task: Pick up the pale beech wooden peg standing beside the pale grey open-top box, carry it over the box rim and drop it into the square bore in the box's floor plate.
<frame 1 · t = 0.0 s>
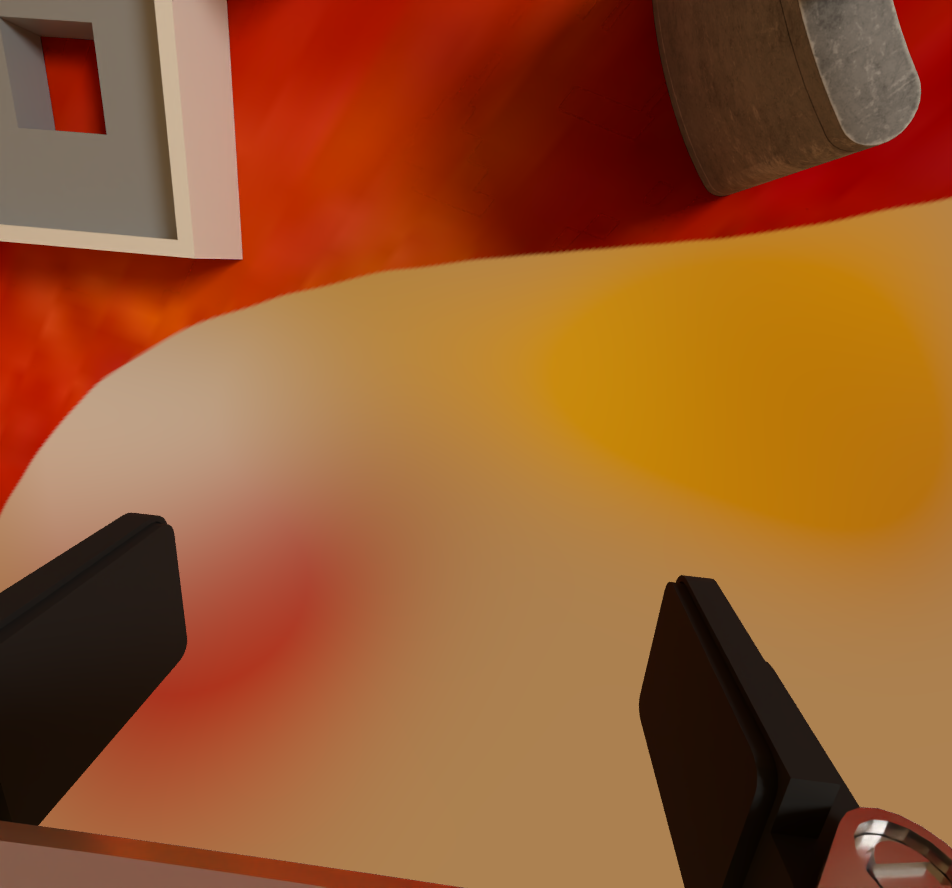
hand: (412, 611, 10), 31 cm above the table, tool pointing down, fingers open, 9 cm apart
open top box: (90, 91, 36), on the table
flask: (693, 82, 33), on the table
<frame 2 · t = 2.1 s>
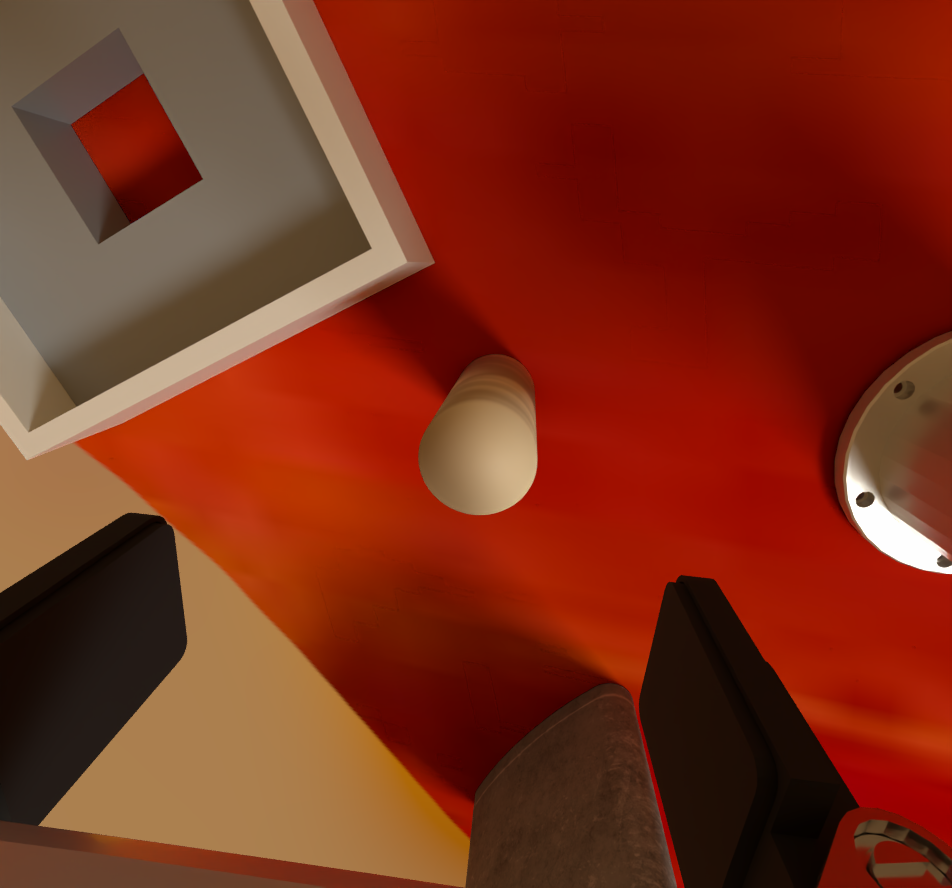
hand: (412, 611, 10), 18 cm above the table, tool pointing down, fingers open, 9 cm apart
open top box: (155, 156, 25), on the table
flask: (544, 746, 35), on the table
peg: (495, 392, 27), on the table
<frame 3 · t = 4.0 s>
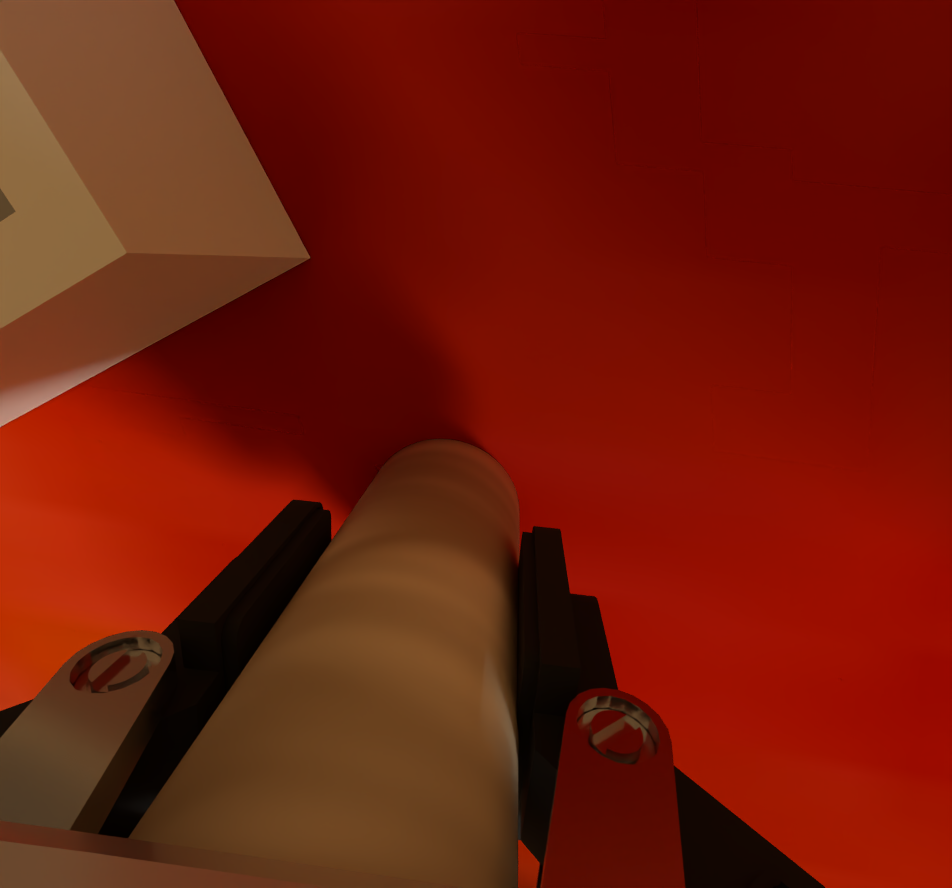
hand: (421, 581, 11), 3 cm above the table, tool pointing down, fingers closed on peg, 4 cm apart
peg: (444, 510, 14), on the table, touching gripper
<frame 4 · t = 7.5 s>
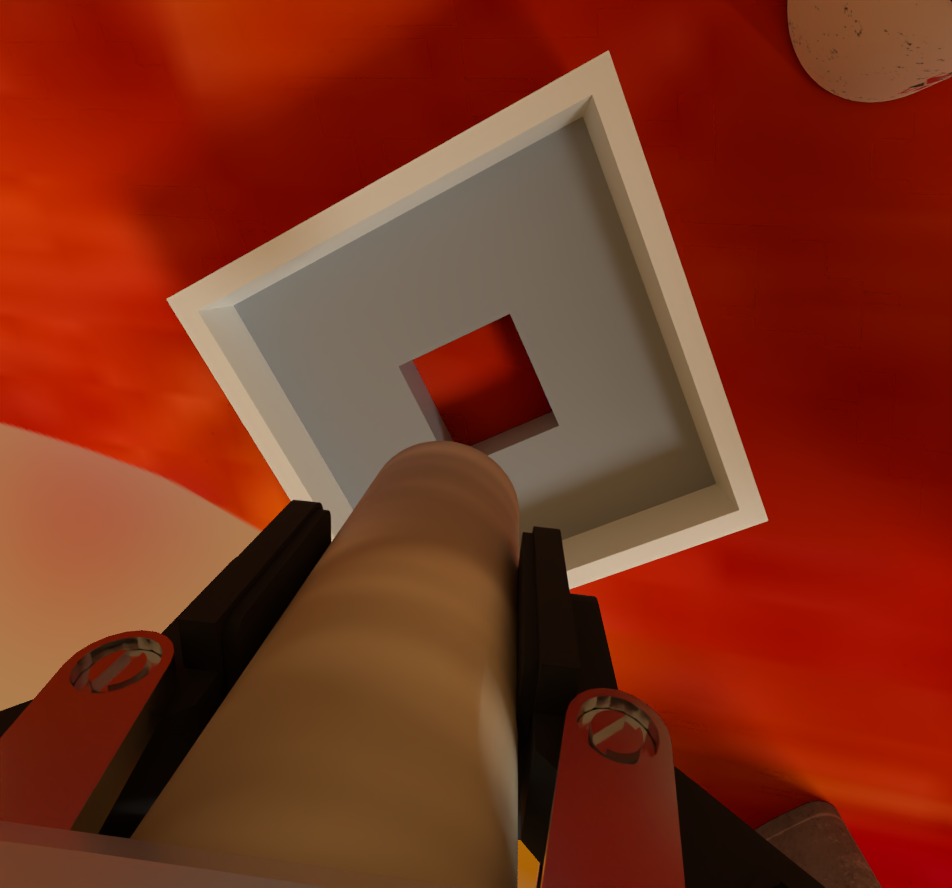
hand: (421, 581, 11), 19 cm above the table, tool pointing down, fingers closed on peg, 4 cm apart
open top box: (483, 383, 29), on the table
flask: (748, 850, 39), on the table
peg: (443, 512, 14), point 16 cm above the table, touching gripper
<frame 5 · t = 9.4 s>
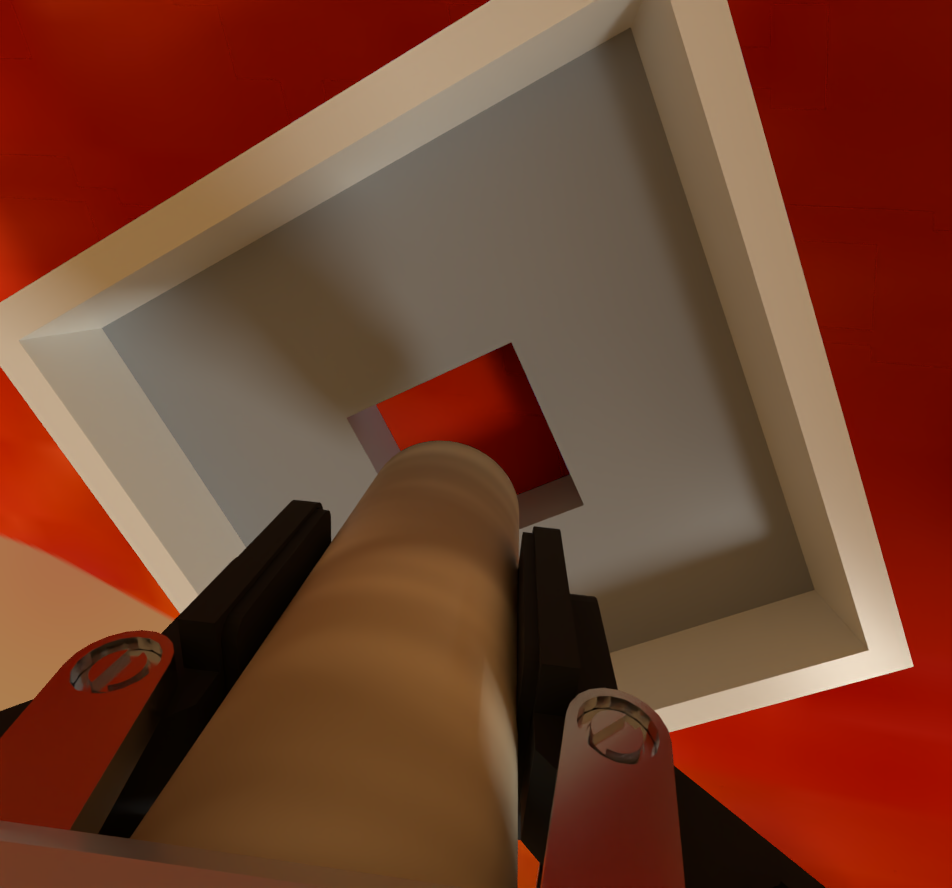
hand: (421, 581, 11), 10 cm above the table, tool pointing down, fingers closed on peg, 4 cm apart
open top box: (474, 434, 20), on the table
peg: (443, 512, 14), point 7 cm above the table, touching gripper
when the fingers open (5 cm above the table, at t = 11.1 s): peg drops 1 cm, resting in open top box.
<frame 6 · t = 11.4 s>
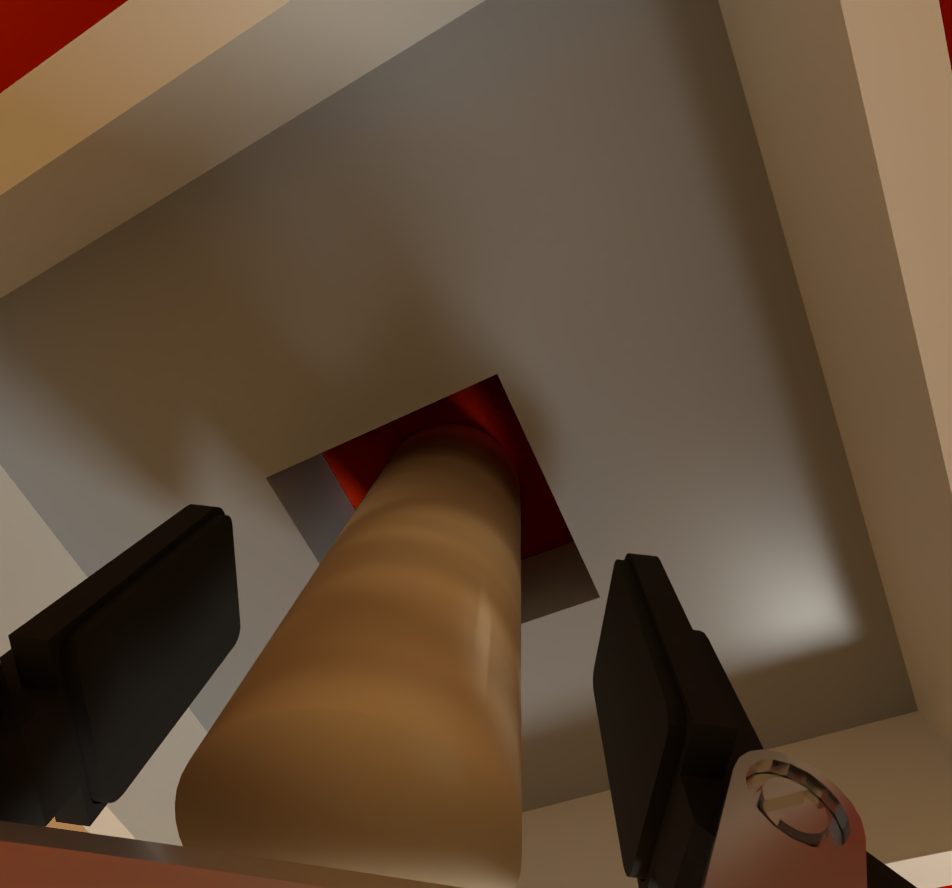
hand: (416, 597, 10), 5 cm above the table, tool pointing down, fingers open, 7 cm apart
open top box: (450, 487, 15), on the table
peg: (452, 489, 15), resting in open top box
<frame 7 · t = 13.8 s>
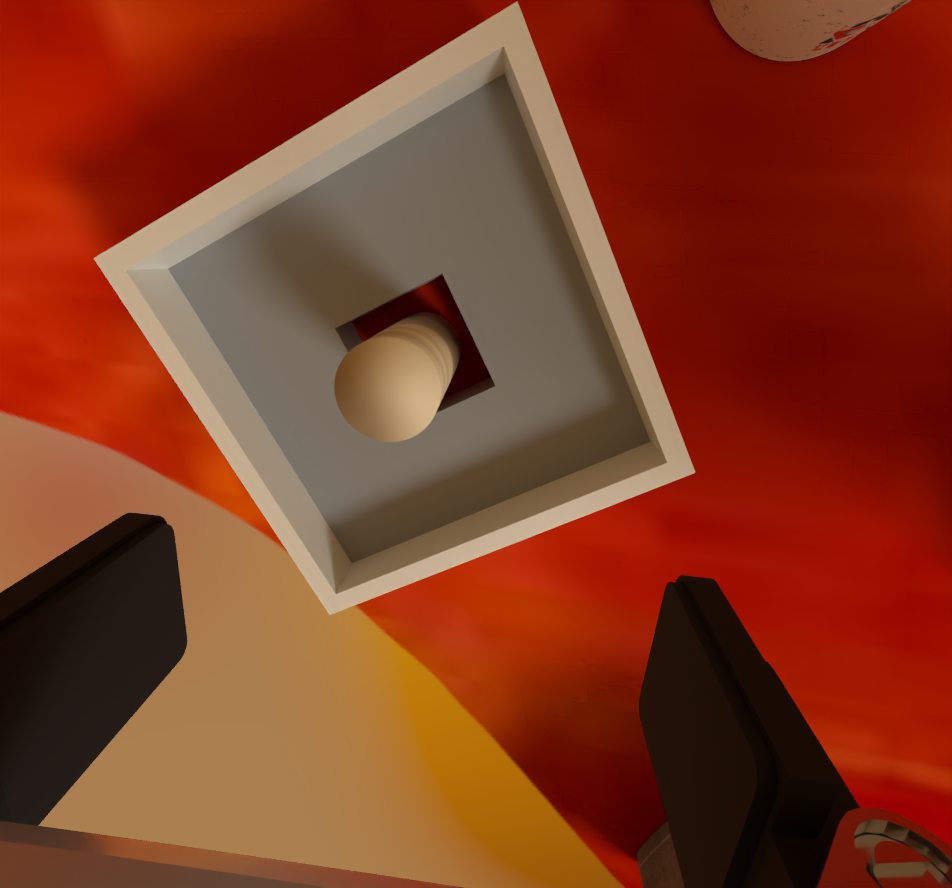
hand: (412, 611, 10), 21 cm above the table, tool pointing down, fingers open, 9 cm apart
open top box: (425, 348, 29), on the table
flask: (703, 811, 40), on the table
peg: (425, 348, 29), resting in open top box
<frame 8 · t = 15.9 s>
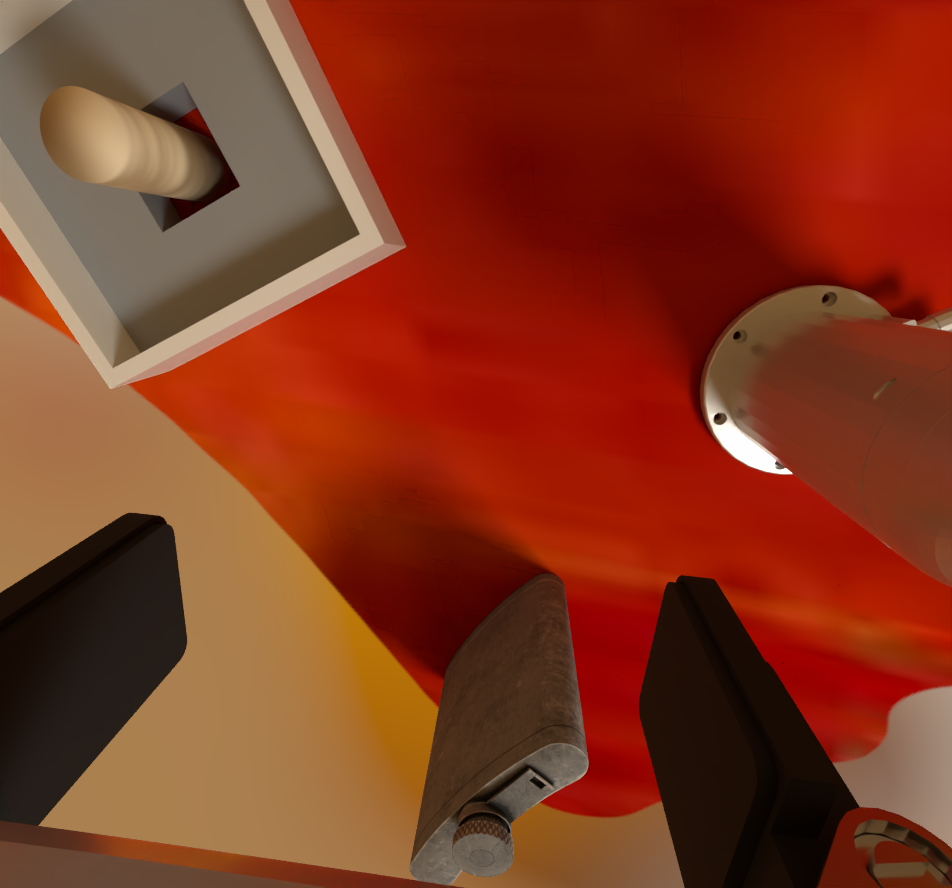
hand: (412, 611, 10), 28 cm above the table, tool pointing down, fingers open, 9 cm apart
open top box: (201, 168, 34), on the table
flask: (498, 628, 44), on the table
peg: (202, 169, 34), resting in open top box
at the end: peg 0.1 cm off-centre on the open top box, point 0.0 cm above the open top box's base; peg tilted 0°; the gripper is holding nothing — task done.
